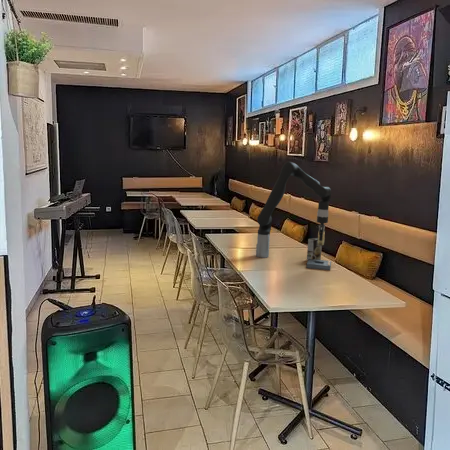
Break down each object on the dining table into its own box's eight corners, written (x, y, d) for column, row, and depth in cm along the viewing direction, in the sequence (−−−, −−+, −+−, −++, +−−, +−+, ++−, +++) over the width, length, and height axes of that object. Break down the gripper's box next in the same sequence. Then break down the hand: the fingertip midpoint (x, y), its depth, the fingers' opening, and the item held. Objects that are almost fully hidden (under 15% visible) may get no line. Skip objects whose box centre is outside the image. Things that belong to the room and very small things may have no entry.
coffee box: (313, 261, 338) (314, 240, 335) (306, 259, 343) (307, 238, 340) (321, 260, 344) (322, 239, 341) (314, 258, 348) (315, 237, 346)
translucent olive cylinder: (317, 244, 320) (318, 232, 318) (317, 243, 324) (318, 231, 322) (323, 245, 319) (324, 232, 317) (324, 244, 323) (324, 231, 321)
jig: (306, 267, 318) (306, 262, 317) (308, 262, 333) (308, 257, 333) (330, 270, 314) (330, 265, 313) (330, 265, 329) (331, 260, 329)
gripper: (317, 214, 326) (316, 237, 328) (316, 216, 312) (314, 241, 315) (328, 214, 324) (326, 238, 327) (327, 217, 310) (325, 242, 313)
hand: (320, 239), depth 321 cm, fingers closed on translucent olive cylinder, 4 cm apart
